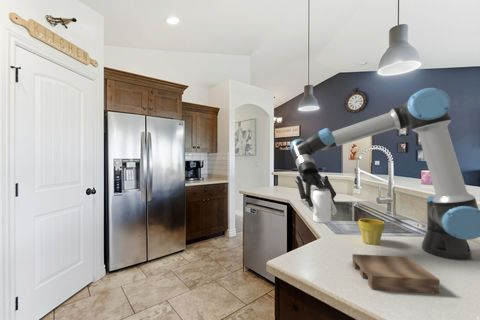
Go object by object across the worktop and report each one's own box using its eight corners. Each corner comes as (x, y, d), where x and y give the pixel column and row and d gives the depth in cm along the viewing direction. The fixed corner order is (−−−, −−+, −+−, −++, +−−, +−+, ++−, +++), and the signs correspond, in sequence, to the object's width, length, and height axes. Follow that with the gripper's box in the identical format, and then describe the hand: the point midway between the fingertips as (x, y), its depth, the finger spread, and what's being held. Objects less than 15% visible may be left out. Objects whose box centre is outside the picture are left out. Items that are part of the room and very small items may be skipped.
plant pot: (377, 238, 113) (377, 218, 113) (389, 246, 103) (389, 224, 103) (355, 238, 114) (355, 218, 114) (364, 246, 104) (364, 223, 104)
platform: (406, 268, 82) (406, 256, 82) (439, 293, 67) (439, 279, 67) (352, 265, 85) (352, 254, 85) (372, 289, 69) (372, 275, 69)
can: (319, 224, 85) (319, 190, 85) (309, 219, 91) (309, 188, 91) (335, 223, 86) (335, 190, 86) (324, 218, 93) (324, 188, 93)
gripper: (324, 172, 106) (346, 218, 90) (283, 173, 103) (297, 219, 87) (330, 161, 101) (354, 206, 85) (287, 161, 98) (303, 208, 82)
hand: (325, 213), depth 86 cm, fingers closed on can, 6 cm apart
